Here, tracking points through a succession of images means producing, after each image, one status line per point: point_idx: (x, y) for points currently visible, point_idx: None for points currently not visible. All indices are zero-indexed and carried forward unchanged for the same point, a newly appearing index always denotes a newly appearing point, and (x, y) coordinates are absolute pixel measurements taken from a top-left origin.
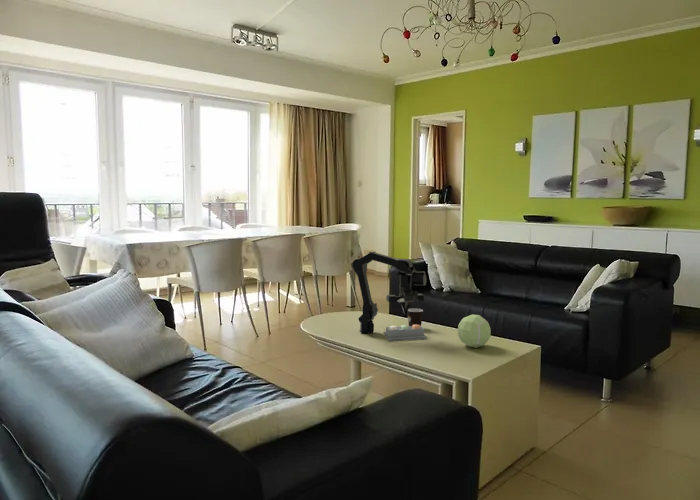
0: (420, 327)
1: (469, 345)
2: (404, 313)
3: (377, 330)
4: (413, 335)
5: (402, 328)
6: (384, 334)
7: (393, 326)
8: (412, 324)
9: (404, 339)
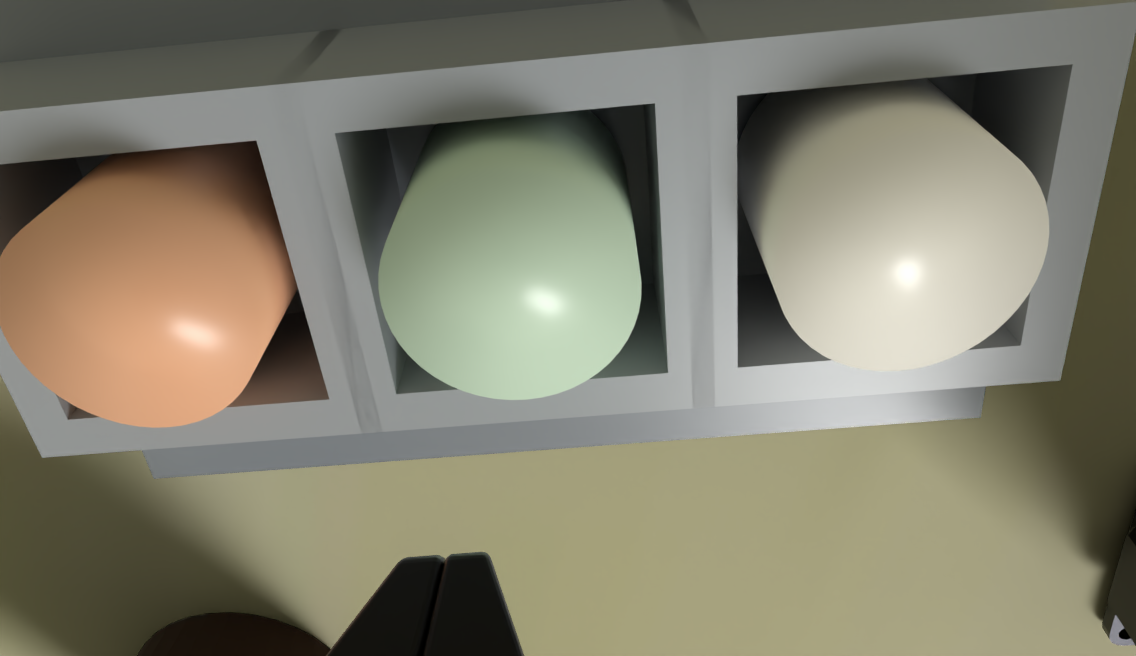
0: None
1: None
2: (505, 613)
3: (974, 623)
4: (297, 32)
5: (608, 185)
6: None
7: (909, 263)
8: None
9: None
